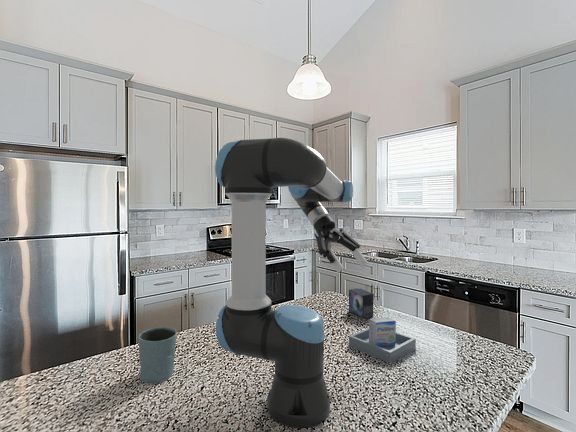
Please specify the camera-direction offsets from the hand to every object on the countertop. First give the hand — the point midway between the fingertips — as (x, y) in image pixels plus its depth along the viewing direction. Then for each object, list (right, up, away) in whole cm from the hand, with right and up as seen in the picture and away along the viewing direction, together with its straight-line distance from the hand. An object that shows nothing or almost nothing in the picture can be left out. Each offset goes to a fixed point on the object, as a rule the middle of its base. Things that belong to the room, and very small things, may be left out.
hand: (353, 267), depth 108 cm
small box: (+10, -27, +34) cm, 45 cm away
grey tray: (+10, -28, +1) cm, 30 cm away
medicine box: (+10, -27, +1) cm, 29 cm away
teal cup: (-59, -28, -18) cm, 68 cm away
